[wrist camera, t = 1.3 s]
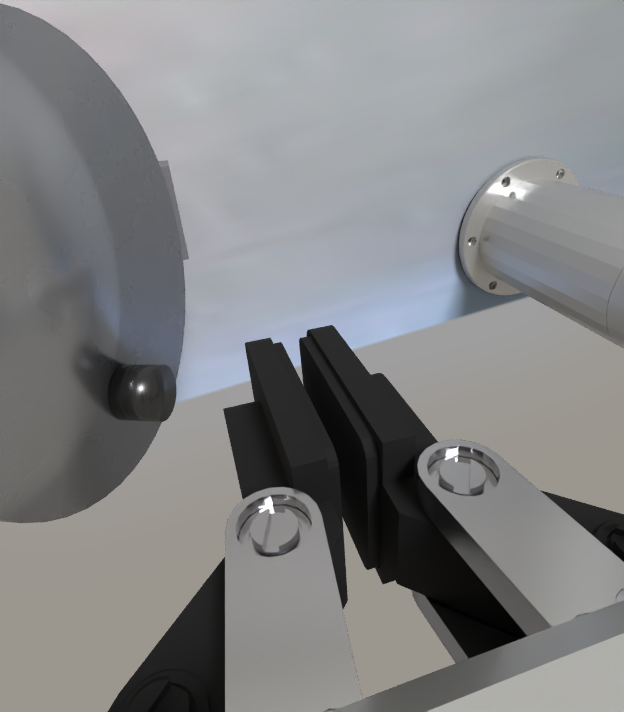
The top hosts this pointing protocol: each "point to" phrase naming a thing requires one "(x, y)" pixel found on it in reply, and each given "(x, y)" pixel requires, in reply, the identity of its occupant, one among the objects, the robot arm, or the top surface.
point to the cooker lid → (78, 279)
